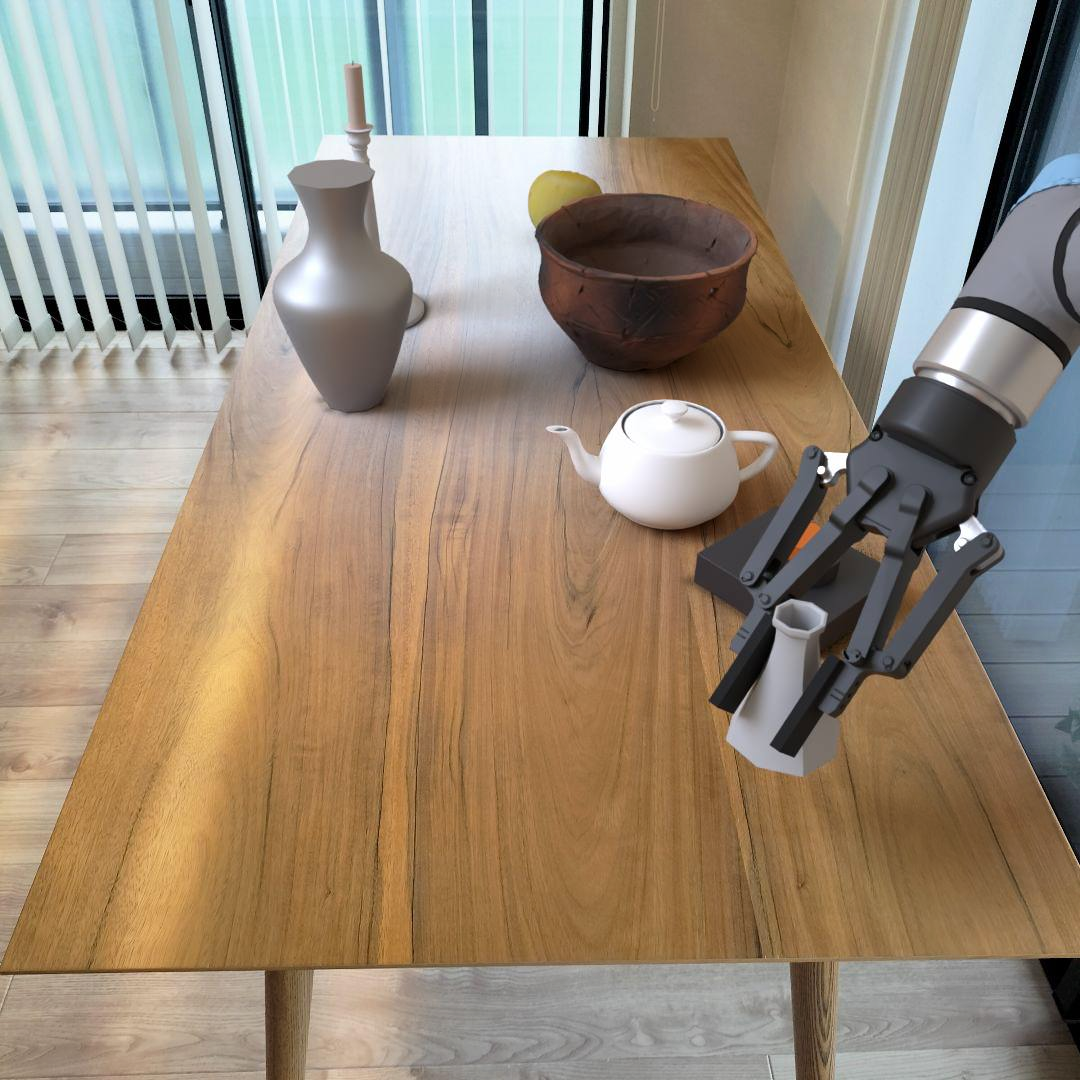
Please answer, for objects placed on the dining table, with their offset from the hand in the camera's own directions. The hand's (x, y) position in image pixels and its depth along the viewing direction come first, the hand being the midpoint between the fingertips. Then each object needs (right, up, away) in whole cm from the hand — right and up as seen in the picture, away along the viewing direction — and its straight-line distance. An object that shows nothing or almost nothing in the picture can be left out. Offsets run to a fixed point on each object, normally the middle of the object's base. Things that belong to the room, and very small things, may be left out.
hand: (751, 728), depth 66 cm
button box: (+9, +7, +29) cm, 31 cm away
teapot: (-2, +15, +39) cm, 42 cm away
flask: (+3, -1, +4) cm, 5 cm away
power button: (+9, +11, +26) cm, 30 cm away
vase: (-34, +27, +54) cm, 69 cm away
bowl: (-1, +34, +64) cm, 73 cm away
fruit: (-9, +55, +91) cm, 107 cm away
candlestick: (-34, +40, +71) cm, 89 cm away
